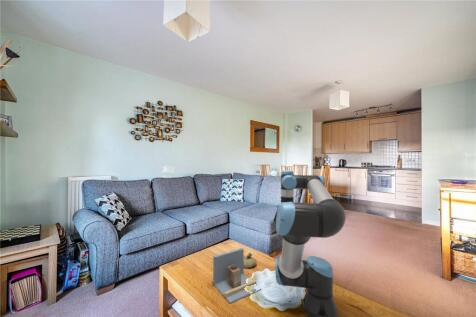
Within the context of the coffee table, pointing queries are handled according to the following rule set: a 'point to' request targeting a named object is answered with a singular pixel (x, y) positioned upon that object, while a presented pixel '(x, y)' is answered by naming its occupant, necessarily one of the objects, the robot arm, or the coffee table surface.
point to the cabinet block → (233, 276)
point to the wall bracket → (221, 275)
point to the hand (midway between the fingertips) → (287, 231)
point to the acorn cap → (249, 261)
